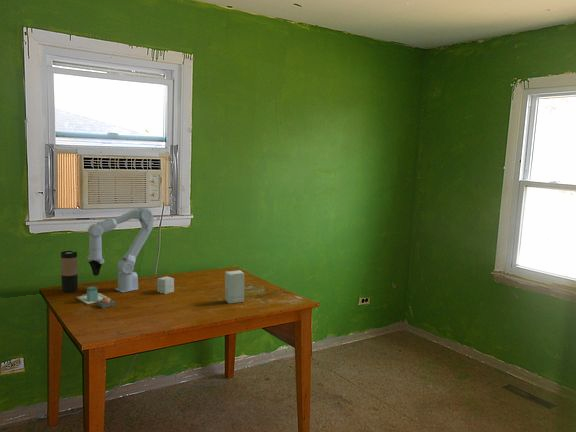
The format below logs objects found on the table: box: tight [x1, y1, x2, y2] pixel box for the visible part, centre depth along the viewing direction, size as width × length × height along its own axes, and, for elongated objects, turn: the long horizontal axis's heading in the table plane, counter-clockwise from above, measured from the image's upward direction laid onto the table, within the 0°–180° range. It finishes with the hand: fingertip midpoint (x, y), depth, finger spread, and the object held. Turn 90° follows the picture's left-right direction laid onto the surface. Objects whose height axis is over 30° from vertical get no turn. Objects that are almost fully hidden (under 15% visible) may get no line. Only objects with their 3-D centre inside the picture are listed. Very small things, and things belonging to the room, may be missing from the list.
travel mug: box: [60, 250, 79, 294], centre depth 247 cm, size 8×8×20 cm
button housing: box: [96, 298, 116, 309], centre depth 226 cm, size 6×6×2 cm
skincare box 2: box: [224, 269, 245, 304], centre depth 238 cm, size 8×6×15 cm
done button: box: [102, 296, 111, 303], centre depth 226 cm, size 4×4×3 cm
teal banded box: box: [86, 285, 99, 301], centre depth 232 cm, size 4×4×6 cm
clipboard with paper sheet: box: [74, 292, 114, 306], centre depth 235 cm, size 12×15×1 cm
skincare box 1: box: [157, 276, 175, 295], centre depth 251 cm, size 6×6×7 cm
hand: (96, 275), depth 243 cm, fingers closed
